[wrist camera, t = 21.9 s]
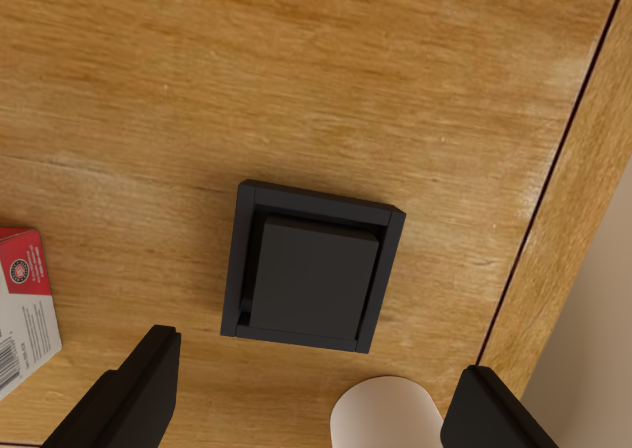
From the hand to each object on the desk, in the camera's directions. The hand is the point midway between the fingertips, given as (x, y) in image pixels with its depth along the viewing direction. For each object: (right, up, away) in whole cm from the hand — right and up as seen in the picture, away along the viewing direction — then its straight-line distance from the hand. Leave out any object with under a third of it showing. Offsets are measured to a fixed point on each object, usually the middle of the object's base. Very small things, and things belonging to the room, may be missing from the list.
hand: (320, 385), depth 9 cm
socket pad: (-1, +3, +10) cm, 10 cm away
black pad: (-1, +2, +9) cm, 9 cm away
